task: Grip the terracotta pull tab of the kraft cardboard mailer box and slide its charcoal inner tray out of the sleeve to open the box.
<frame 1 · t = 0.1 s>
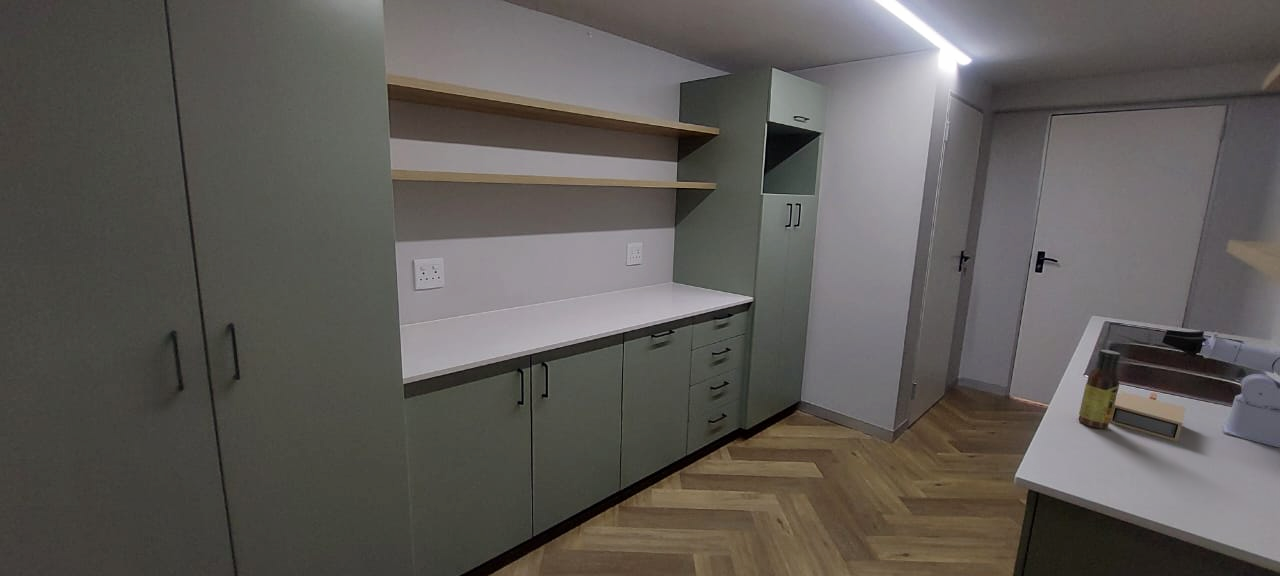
hand: (1164, 336, 144), 22 cm above the worktop, tool horizontal, fingers open, 7 cm apart
sauce bottle: (1092, 424, 137), on the worktop
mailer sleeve: (1144, 423, 139), on the worktop
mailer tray: (1148, 409, 140), point 3 cm above the worktop, slide at 0.0 cm
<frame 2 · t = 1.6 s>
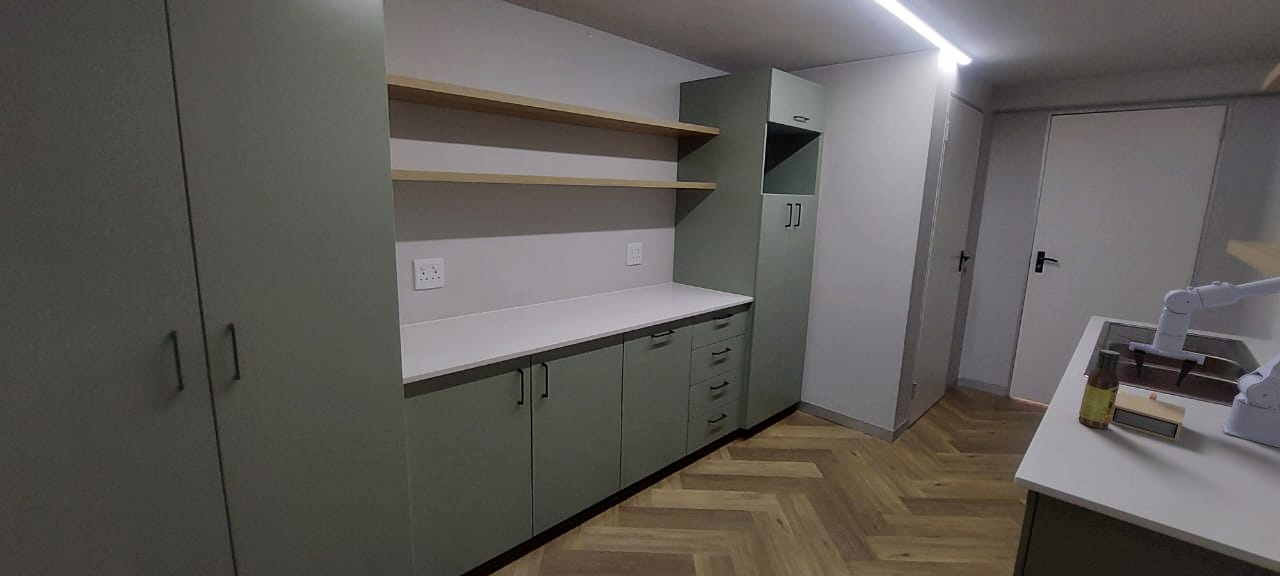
hand: (1157, 381, 144), 9 cm above the worktop, tool pointing down, fingers open, 7 cm apart
nothing on the worktop moved.
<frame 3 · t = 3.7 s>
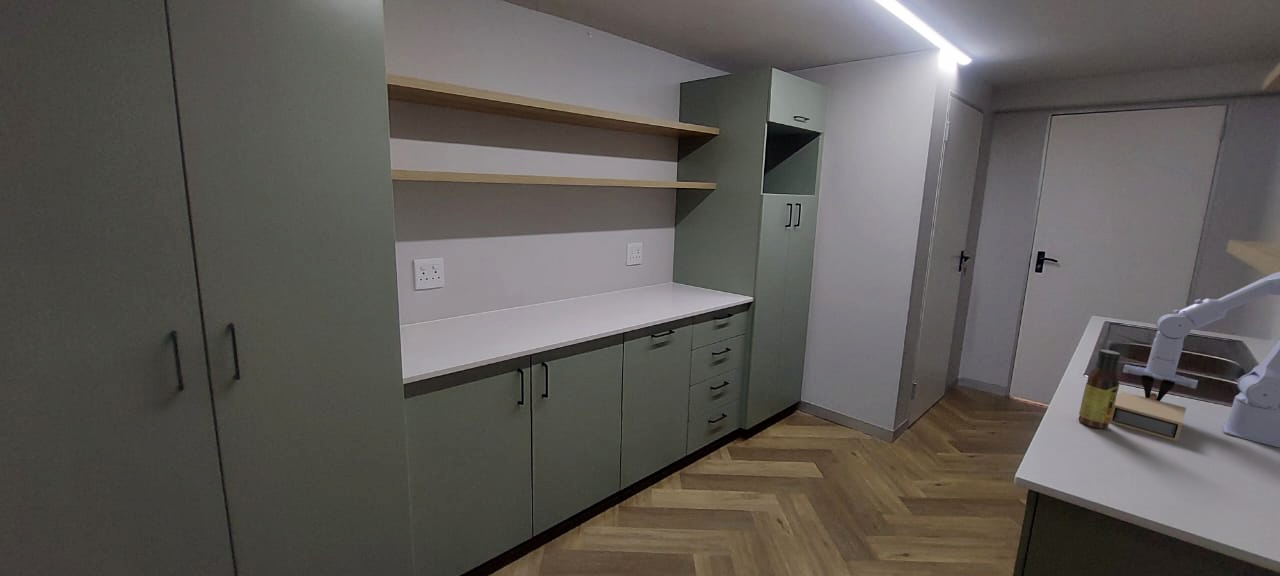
hand: (1151, 403, 146), 3 cm above the worktop, tool pointing down, fingers closed on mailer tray
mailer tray: (1148, 409, 140), point 3 cm above the worktop, slide at 0.0 cm, touching gripper
everything else where it was.
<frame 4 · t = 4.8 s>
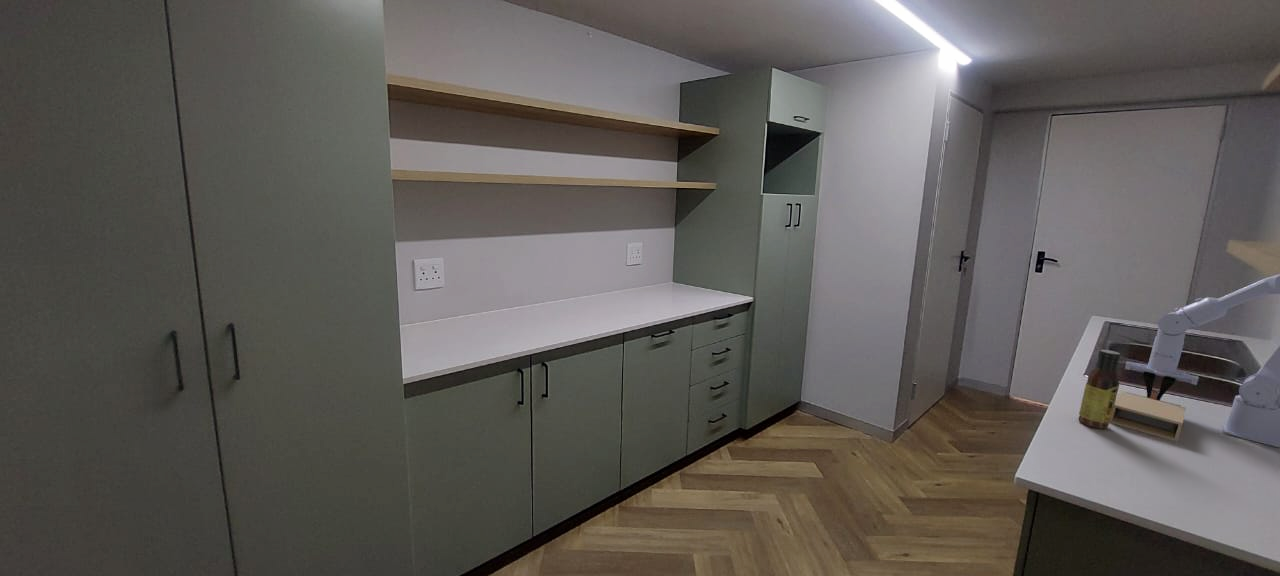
hand: (1152, 400, 149), 3 cm above the worktop, tool pointing down, fingers closed on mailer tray
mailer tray: (1150, 405, 143), point 3 cm above the worktop, slide at 4.5 cm, touching gripper
everything else where it was.
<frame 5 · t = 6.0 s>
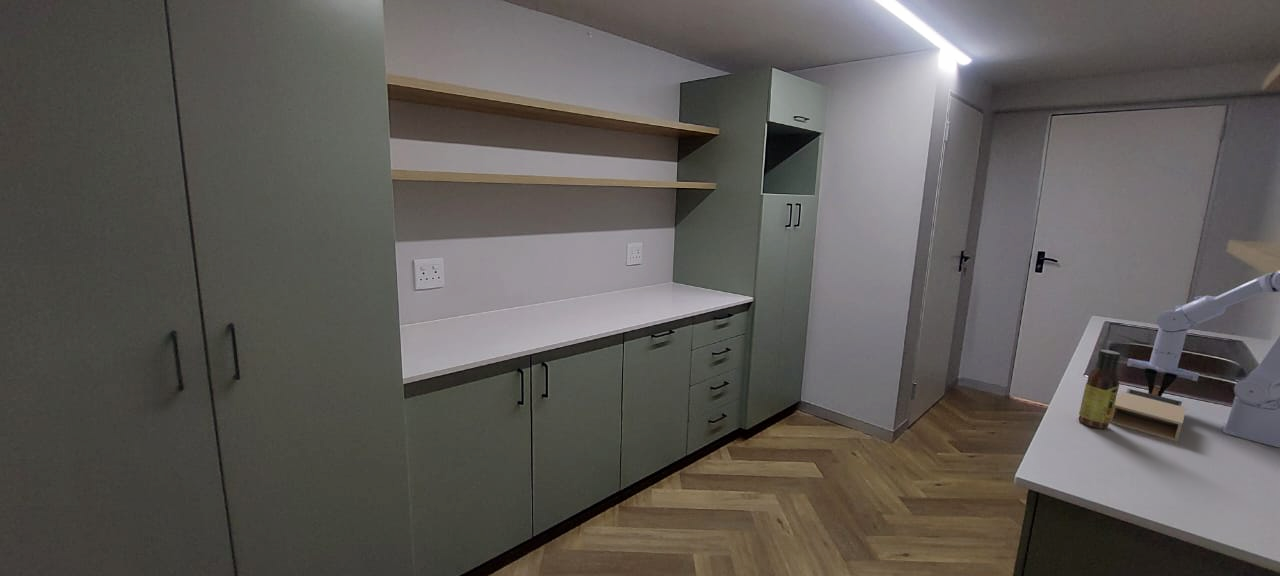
hand: (1154, 396, 152), 3 cm above the worktop, tool pointing down, fingers closed on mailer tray
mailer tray: (1152, 401, 146), point 3 cm above the worktop, slide at 8.9 cm, touching gripper
everything else where it was.
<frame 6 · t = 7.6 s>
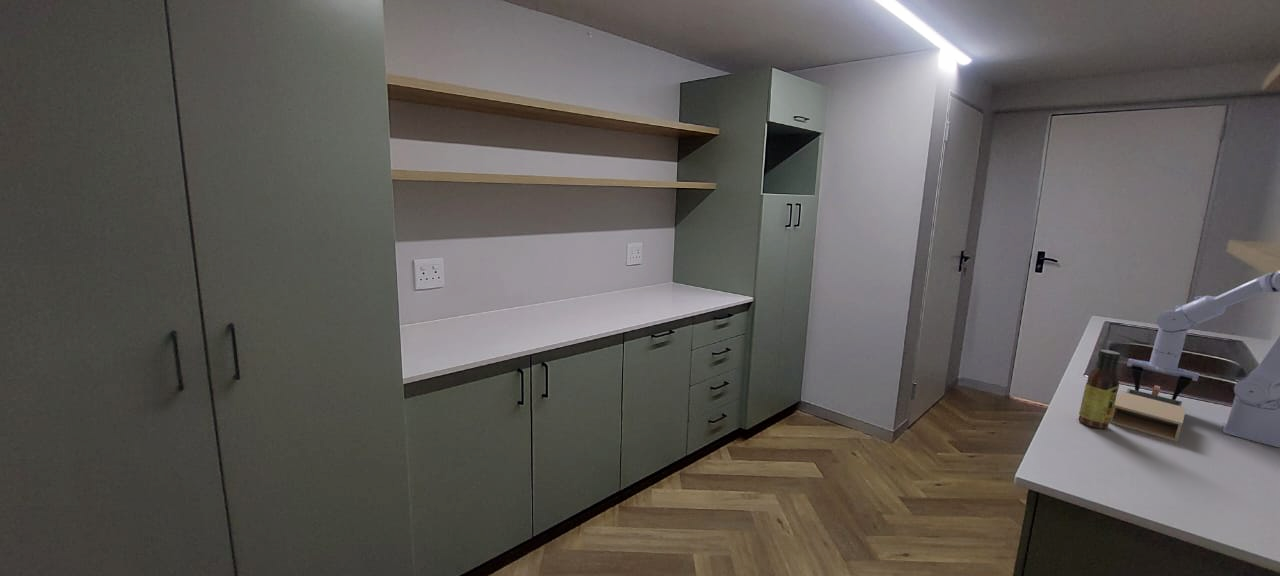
hand: (1154, 396, 152), 3 cm above the worktop, tool pointing down, fingers open, 7 cm apart
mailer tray: (1152, 401, 146), point 3 cm above the worktop, slide at 8.9 cm
everything else where it was.
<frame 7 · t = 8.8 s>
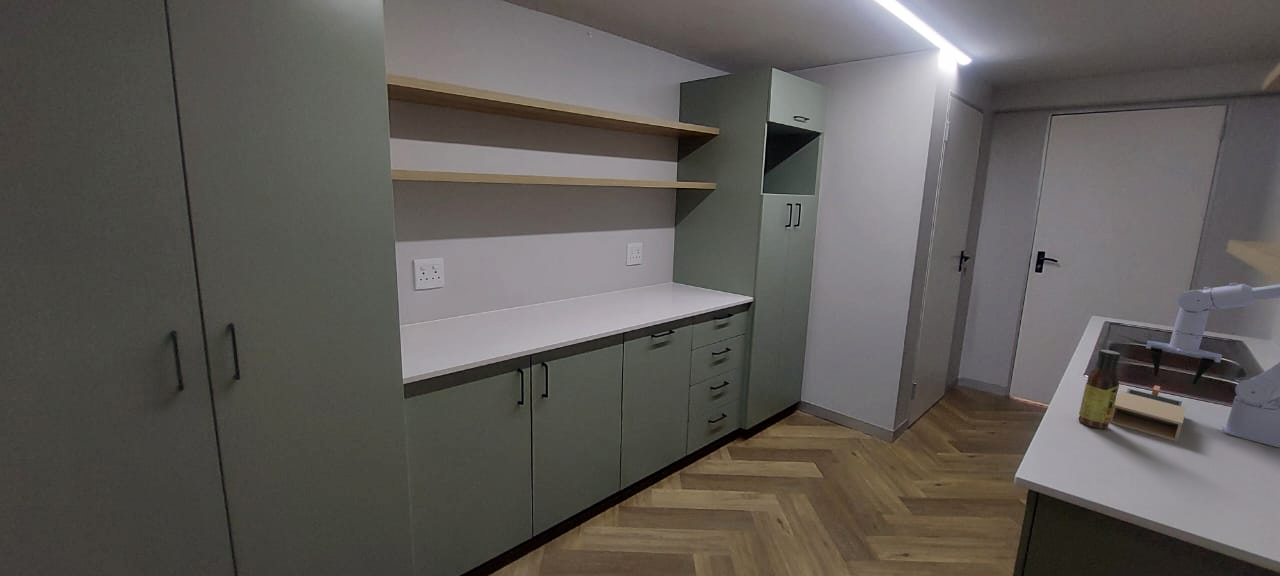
hand: (1174, 379, 147), 9 cm above the worktop, tool pointing down, fingers open, 7 cm apart
nothing on the worktop moved.
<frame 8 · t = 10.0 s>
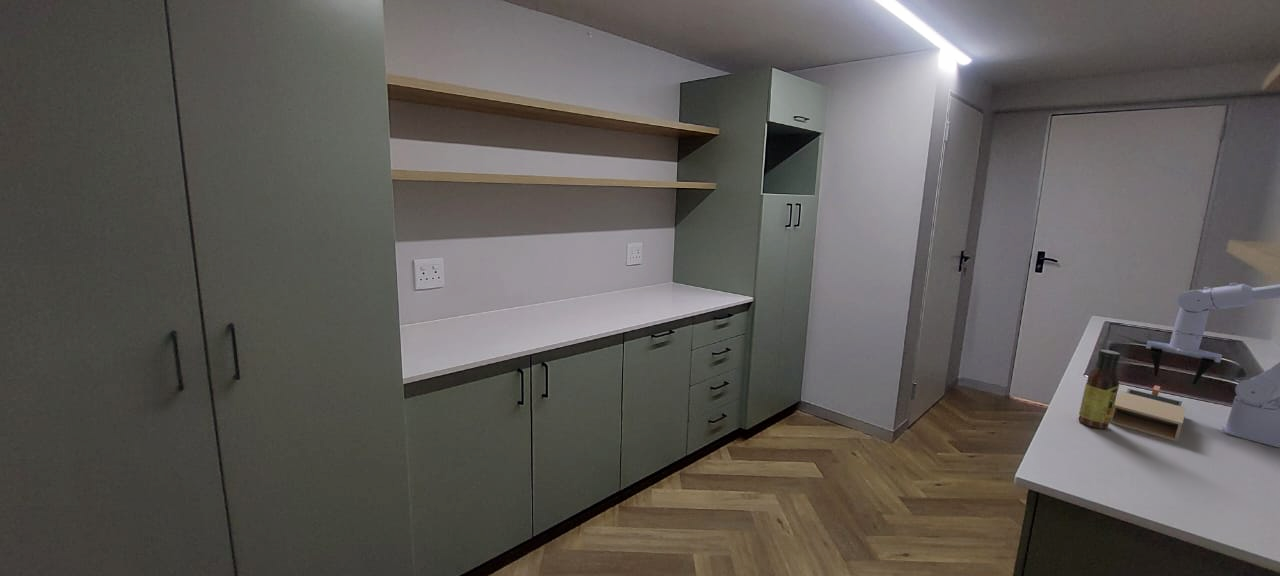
hand: (1174, 379, 147), 9 cm above the worktop, tool pointing down, fingers open, 7 cm apart
nothing on the worktop moved.
at the end: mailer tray slide at 8.9 cm; sauce bottle moved 0.2 cm from its start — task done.
